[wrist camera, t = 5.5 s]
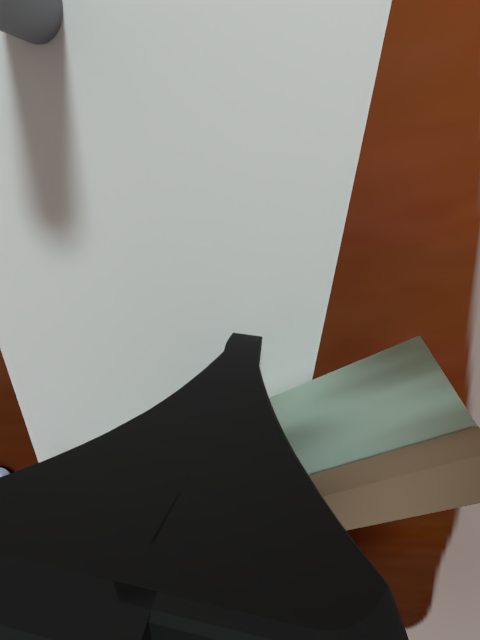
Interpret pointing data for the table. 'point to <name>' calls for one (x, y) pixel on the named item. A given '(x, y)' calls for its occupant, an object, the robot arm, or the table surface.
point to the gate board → (170, 193)
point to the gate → (384, 437)
